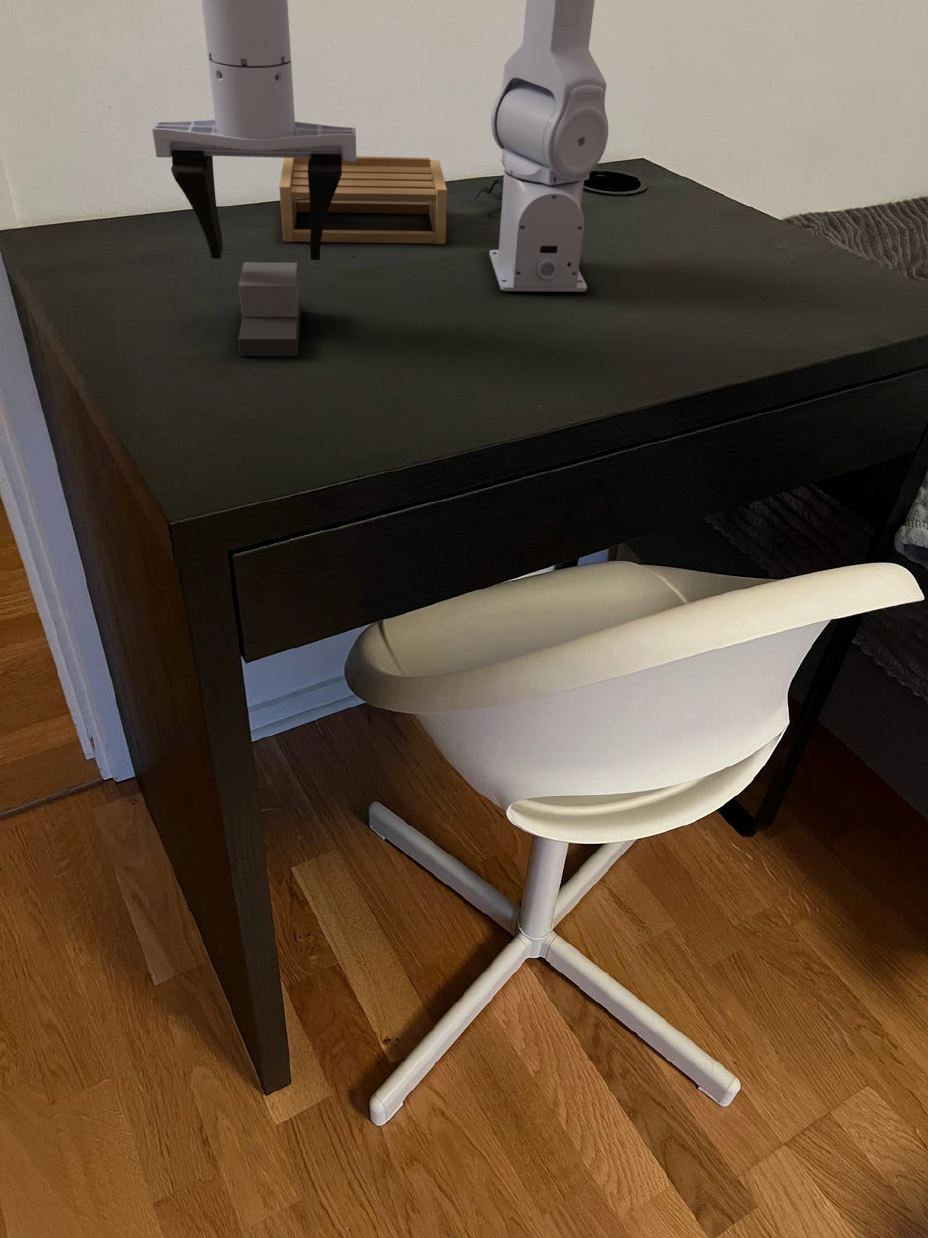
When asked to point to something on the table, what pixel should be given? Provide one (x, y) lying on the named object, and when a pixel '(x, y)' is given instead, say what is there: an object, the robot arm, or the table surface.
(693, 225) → the table surface
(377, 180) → the shoe rack
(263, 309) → the grey step block
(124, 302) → the table surface
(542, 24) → the robot arm
